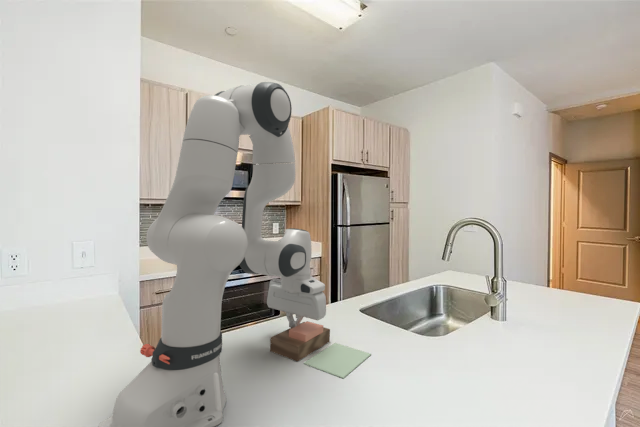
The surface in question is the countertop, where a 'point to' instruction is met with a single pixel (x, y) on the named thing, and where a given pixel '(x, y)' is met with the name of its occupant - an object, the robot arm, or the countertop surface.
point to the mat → (338, 360)
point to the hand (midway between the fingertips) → (294, 327)
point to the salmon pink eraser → (306, 331)
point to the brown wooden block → (297, 344)
